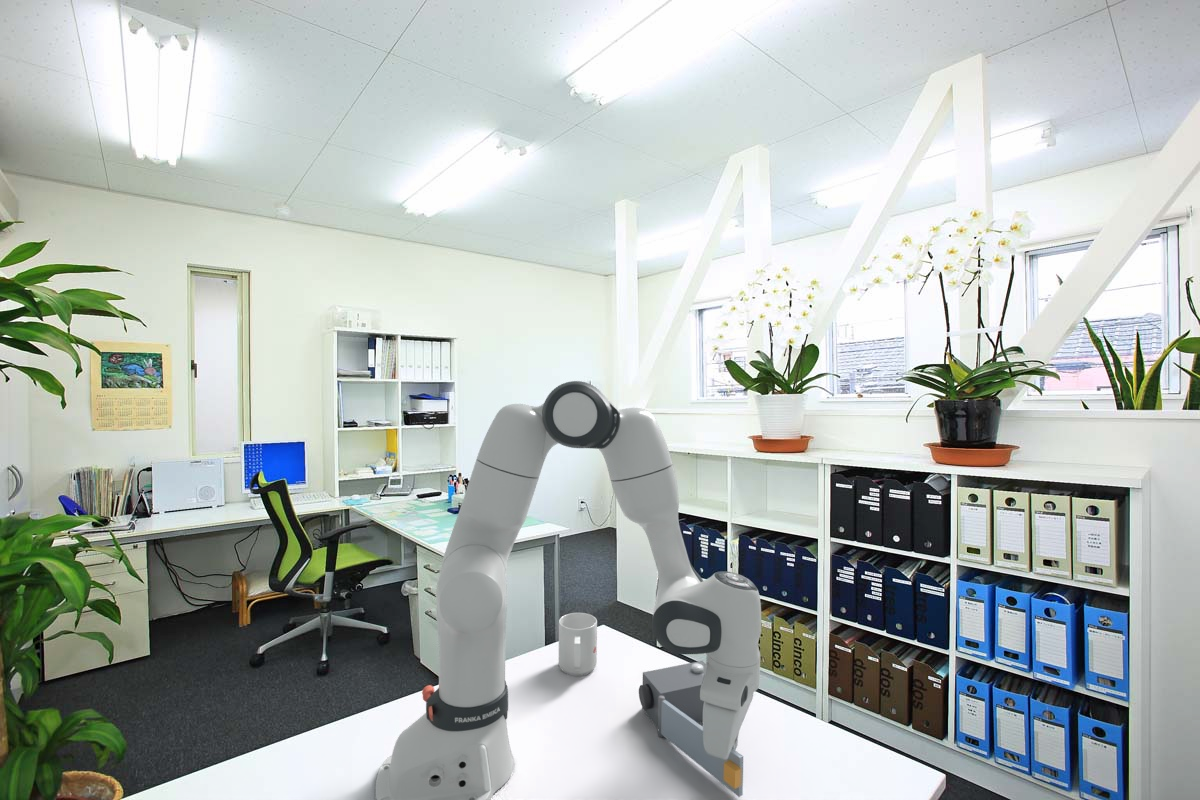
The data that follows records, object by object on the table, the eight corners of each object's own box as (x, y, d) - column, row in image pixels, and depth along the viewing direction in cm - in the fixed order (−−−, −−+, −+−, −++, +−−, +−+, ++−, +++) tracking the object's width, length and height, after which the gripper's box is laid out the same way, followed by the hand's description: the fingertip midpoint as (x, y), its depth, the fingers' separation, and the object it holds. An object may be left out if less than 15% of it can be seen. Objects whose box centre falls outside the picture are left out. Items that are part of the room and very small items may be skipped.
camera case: (654, 733, 104) (655, 690, 104) (636, 709, 111) (637, 669, 111) (722, 716, 109) (723, 676, 109) (701, 695, 117) (702, 657, 116)
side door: (651, 737, 103) (652, 698, 102) (661, 732, 104) (661, 694, 104) (734, 806, 86) (735, 760, 86) (744, 799, 88) (745, 754, 87)
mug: (559, 657, 132) (559, 612, 131) (596, 657, 132) (596, 612, 131) (556, 685, 120) (557, 635, 119) (597, 685, 120) (597, 636, 119)
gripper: (729, 640, 103) (727, 712, 103) (696, 695, 85) (694, 782, 85) (763, 648, 100) (761, 722, 100) (737, 707, 82) (734, 797, 82)
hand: (730, 750), depth 93 cm, fingers closed
